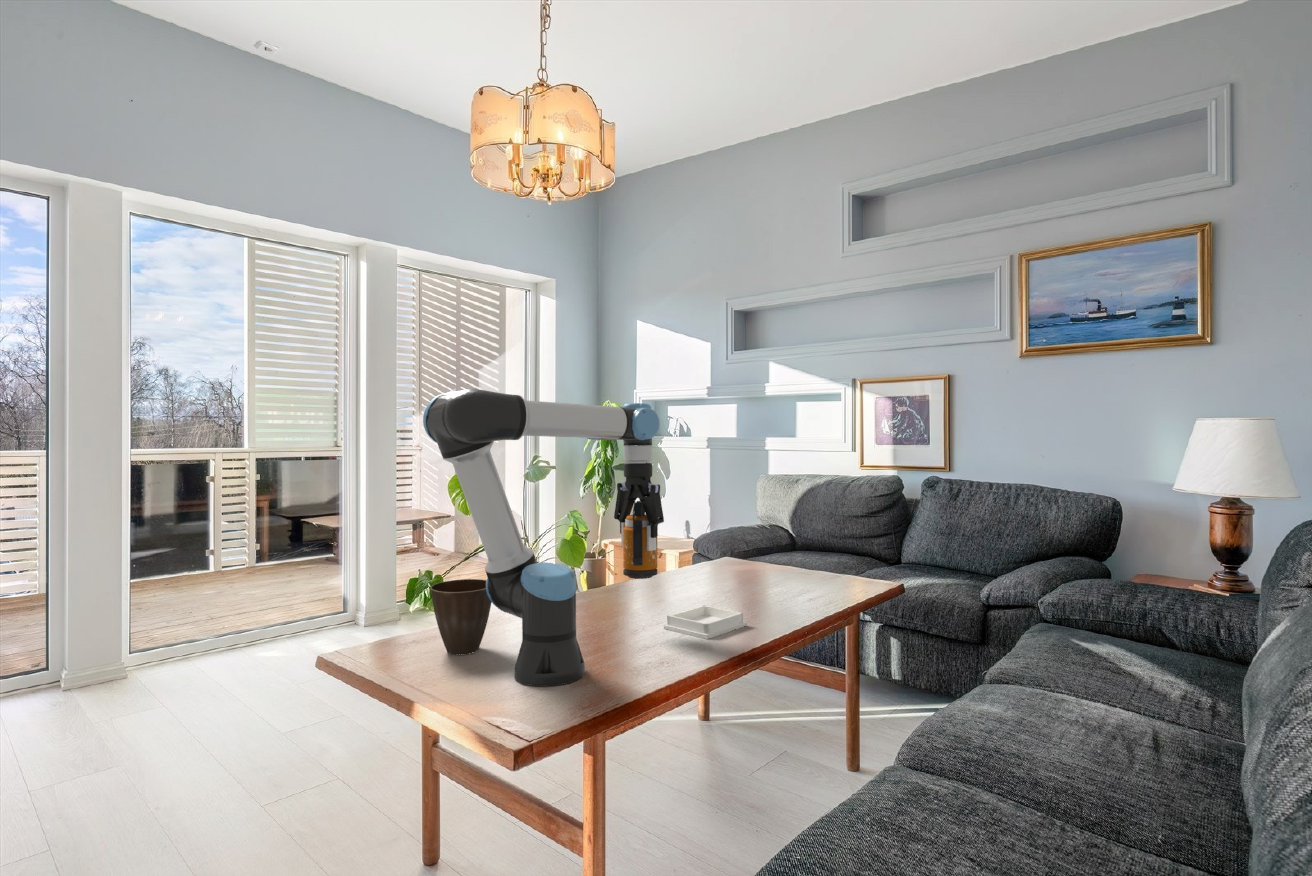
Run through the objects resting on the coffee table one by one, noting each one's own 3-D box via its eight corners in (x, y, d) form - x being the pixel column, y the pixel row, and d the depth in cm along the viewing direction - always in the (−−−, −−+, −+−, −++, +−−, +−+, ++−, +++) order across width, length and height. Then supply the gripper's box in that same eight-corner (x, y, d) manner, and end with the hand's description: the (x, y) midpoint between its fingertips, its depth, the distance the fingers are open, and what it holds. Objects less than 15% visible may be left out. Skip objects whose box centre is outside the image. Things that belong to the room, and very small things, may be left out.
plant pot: (507, 647, 175) (506, 583, 175) (459, 664, 162) (458, 594, 162) (466, 638, 183) (465, 576, 183) (418, 653, 171) (417, 587, 171)
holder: (707, 639, 180) (706, 625, 180) (663, 628, 190) (663, 615, 190) (746, 625, 192) (746, 612, 192) (704, 616, 203) (703, 604, 203)
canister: (659, 573, 191) (658, 499, 191) (654, 581, 180) (654, 502, 180) (625, 573, 191) (625, 498, 191) (619, 581, 180) (619, 502, 180)
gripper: (678, 462, 181) (678, 551, 181) (620, 461, 196) (620, 543, 196) (658, 463, 176) (658, 554, 176) (599, 462, 191) (600, 546, 191)
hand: (638, 548), depth 186 cm, fingers closed on canister, 9 cm apart
